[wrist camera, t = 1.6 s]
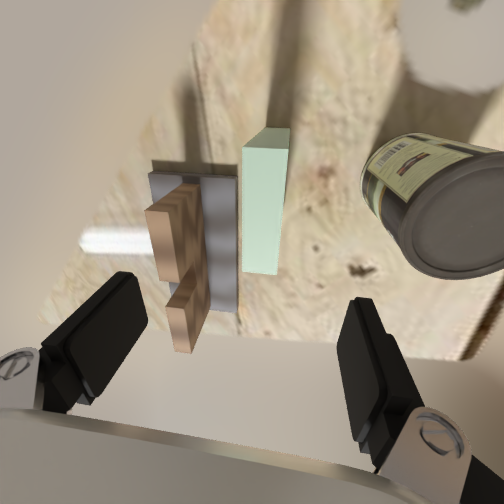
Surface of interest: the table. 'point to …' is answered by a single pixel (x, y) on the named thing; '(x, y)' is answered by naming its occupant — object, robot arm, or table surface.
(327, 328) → the table surface
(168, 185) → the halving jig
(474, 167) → the coffee can
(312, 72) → the table surface
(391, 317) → the table surface
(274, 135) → the green slat
